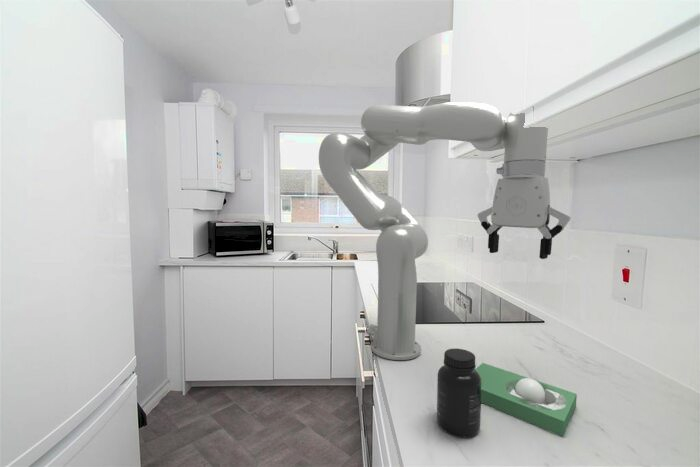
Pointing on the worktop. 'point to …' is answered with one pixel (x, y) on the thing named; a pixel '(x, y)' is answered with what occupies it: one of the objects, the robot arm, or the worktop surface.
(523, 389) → the ball
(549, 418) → the green flat slab
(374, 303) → the worktop surface
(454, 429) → the supplement bottle
